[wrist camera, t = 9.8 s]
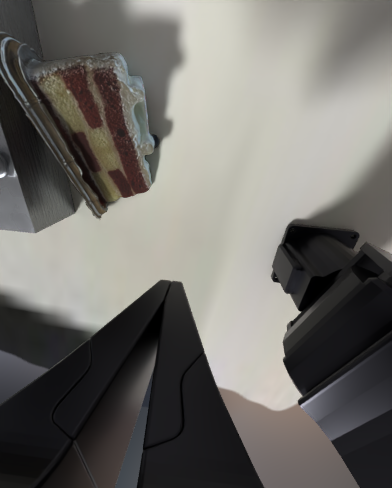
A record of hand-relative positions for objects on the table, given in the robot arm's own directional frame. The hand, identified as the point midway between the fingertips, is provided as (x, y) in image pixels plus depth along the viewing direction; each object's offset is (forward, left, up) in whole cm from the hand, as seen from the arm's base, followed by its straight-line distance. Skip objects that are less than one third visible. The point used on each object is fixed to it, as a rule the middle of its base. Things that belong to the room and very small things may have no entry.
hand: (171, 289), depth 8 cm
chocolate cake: (+7, -5, -12) cm, 15 cm away
